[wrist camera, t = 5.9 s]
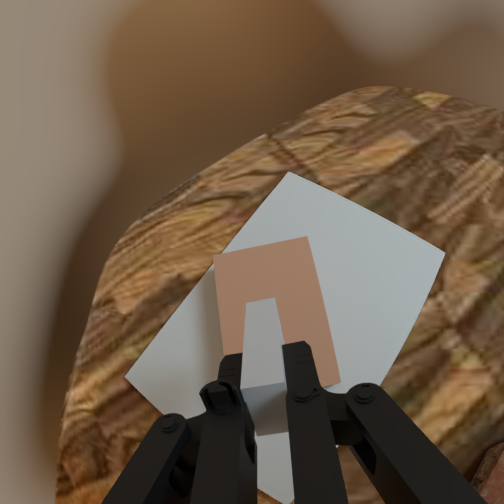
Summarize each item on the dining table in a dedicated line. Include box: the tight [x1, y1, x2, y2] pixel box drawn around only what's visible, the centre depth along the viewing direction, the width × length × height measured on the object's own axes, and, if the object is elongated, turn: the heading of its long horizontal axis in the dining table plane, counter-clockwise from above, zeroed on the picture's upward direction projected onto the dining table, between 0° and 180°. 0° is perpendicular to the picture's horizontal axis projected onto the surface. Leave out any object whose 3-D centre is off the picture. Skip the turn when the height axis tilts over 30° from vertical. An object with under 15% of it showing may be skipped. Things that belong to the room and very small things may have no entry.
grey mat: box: [125, 172, 445, 504], centre depth 26 cm, size 26×18×1 cm
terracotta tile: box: [213, 236, 341, 387], centre depth 24 cm, size 2×8×12 cm
